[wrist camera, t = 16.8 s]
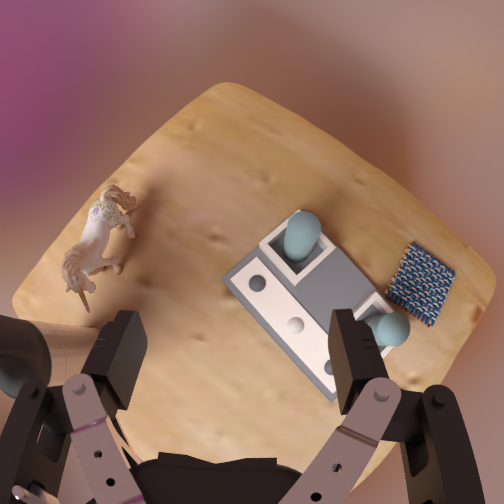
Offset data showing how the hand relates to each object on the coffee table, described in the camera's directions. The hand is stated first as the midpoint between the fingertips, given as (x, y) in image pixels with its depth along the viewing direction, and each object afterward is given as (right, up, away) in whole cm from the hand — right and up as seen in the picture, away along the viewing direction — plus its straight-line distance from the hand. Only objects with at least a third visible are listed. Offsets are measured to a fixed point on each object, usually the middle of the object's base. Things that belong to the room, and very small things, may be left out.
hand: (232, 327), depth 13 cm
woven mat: (+28, -2, +33) cm, 43 cm away
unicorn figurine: (-18, +2, +35) cm, 40 cm away
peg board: (+10, -5, +32) cm, 34 cm away
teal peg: (+18, -8, +30) cm, 36 cm away
